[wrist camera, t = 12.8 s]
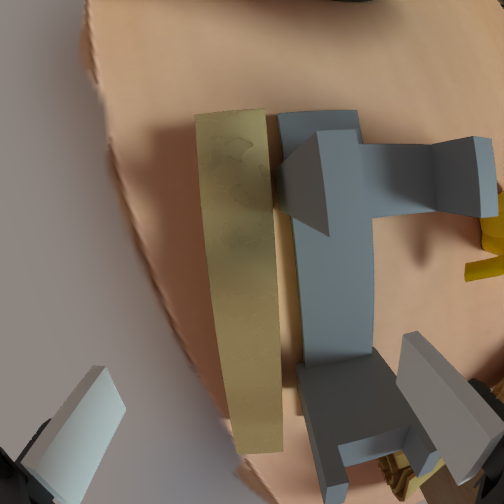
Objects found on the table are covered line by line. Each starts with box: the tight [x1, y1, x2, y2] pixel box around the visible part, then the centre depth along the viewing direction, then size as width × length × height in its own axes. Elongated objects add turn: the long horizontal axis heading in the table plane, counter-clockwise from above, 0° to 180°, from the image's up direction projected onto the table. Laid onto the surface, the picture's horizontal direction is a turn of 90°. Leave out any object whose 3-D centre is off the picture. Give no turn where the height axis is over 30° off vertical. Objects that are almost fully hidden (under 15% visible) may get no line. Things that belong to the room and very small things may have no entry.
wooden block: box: [419, 464, 484, 504], centre depth 18 cm, size 10×10×20 cm
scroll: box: [377, 377, 504, 501], centre depth 21 cm, size 27×10×10 cm, turn 107°
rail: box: [195, 108, 283, 454], centre depth 20 cm, size 26×4×5 cm, turn 4°
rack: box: [275, 110, 498, 504], centre depth 15 cm, size 27×7×13 cm, turn 8°
